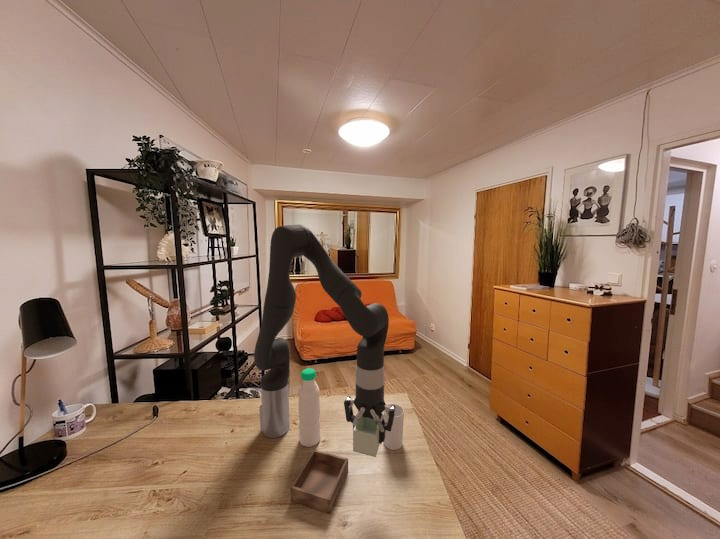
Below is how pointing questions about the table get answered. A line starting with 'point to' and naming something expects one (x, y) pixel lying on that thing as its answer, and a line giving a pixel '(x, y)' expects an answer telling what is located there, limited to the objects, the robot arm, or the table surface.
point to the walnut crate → (320, 481)
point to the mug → (394, 429)
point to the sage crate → (366, 436)
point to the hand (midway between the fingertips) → (369, 438)
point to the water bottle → (309, 409)
